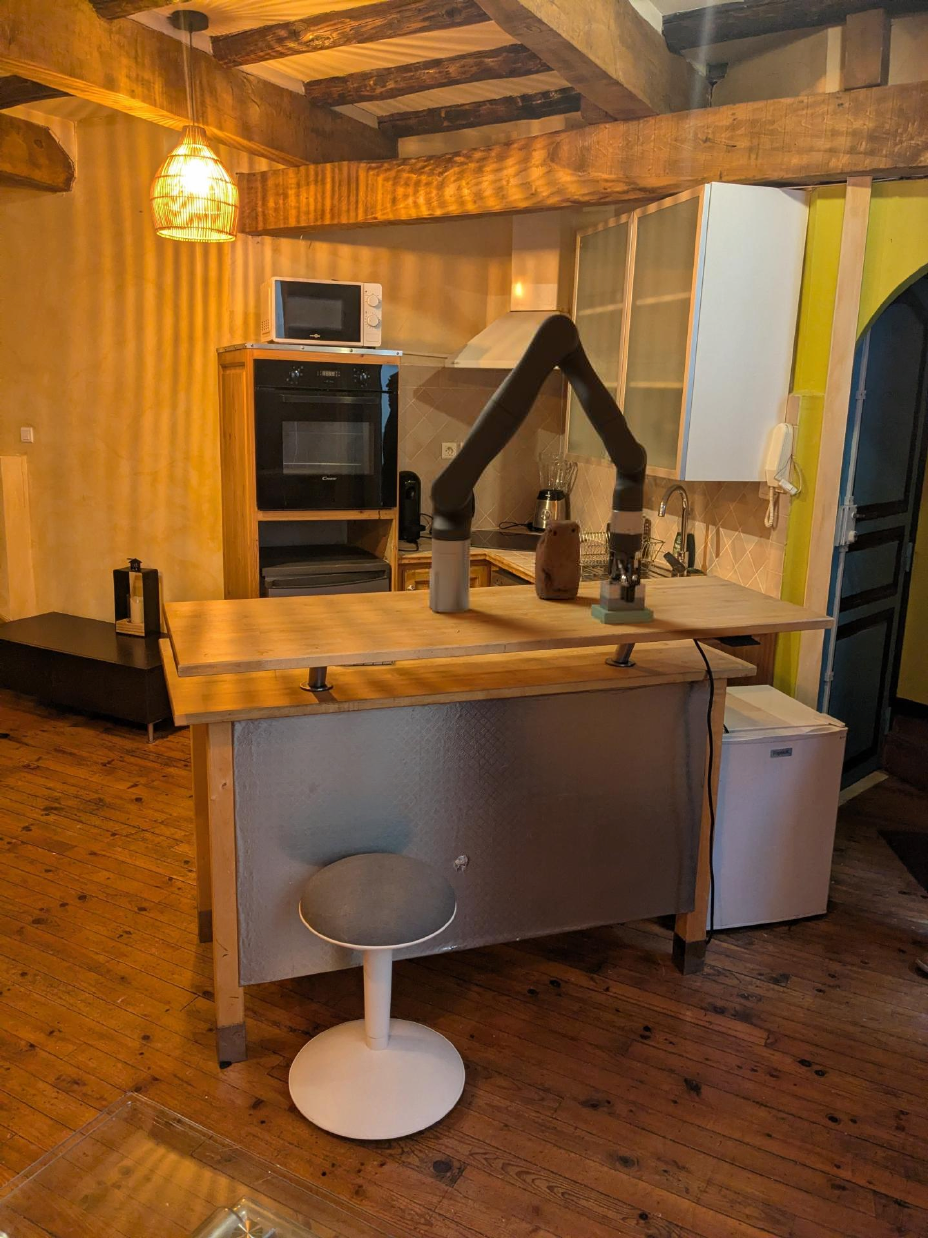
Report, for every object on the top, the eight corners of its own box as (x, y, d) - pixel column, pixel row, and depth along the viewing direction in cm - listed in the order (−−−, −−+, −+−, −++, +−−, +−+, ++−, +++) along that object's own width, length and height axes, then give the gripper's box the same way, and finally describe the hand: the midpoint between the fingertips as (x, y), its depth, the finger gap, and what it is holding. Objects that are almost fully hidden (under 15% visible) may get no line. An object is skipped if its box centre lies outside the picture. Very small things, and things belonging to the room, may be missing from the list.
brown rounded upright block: (569, 593, 251) (573, 518, 246) (581, 599, 244) (584, 522, 239) (531, 595, 248) (533, 519, 243) (541, 601, 241) (544, 522, 236)
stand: (604, 623, 218) (604, 612, 217) (590, 615, 226) (591, 604, 226) (653, 621, 220) (653, 611, 220) (638, 613, 229) (638, 603, 228)
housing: (607, 611, 219) (609, 582, 218) (599, 606, 224) (600, 578, 223) (644, 609, 221) (645, 581, 220) (635, 604, 226) (636, 577, 225)
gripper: (600, 526, 225) (596, 593, 228) (622, 534, 211) (618, 605, 215) (629, 525, 226) (626, 592, 230) (654, 533, 213) (649, 604, 216)
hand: (622, 598), depth 222 cm, fingers open, 8 cm apart
